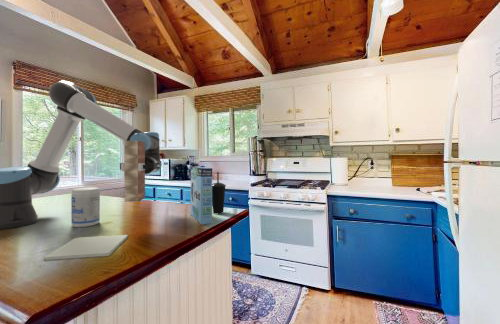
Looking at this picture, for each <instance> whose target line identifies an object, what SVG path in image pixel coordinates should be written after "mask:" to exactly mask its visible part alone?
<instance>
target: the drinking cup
mask: <svg viewBox="0 0 500 324" xmlns="http://www.w3.org/2000/svg"><path fill="white" fill-rule="evenodd" d="M219 174H220V173H219V171H217V172H216V175H217V176H216V179H217V180H216V181H217V182H214V183H213V182H212V214H214V213H221V212H223V213H224V210H225V209H224V208H225V207H224V206H225V195H226V186H227V185H226V183H224V182H223V183H222V182H219V178H220V176H219Z"/></svg>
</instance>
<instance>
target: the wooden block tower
mask: <svg viewBox="0 0 500 324" xmlns="http://www.w3.org/2000/svg"><path fill="white" fill-rule="evenodd" d="M123 143H124V145H123V146H124V151H123V152H124V153H123V154H124V162H123V163H124V166H125V171H123V172H124V202H125V203H126V202H127V203H130V202H131V203H133V202H141V201H142V200H144V199H145V198H146V174H145V170H143V171H138V163H145V142H141V141H123Z"/></svg>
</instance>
